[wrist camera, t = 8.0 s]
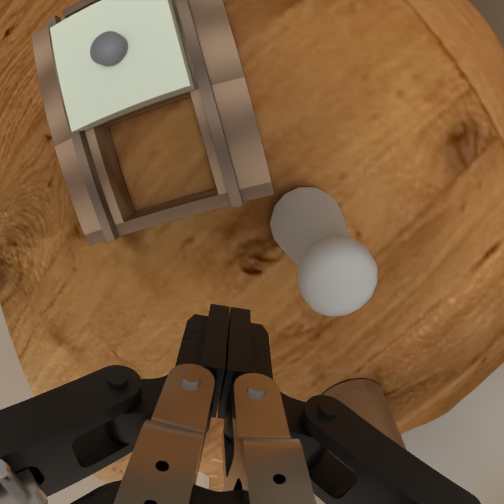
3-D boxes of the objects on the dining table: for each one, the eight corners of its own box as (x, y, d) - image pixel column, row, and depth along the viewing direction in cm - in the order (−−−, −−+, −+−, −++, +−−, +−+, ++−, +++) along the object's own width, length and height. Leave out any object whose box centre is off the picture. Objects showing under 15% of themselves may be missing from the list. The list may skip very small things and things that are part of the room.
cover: (196, 89, 20) (187, 83, 17) (87, 130, 21) (64, 133, 18) (169, -12, 17) (157, -30, 14) (65, 33, 18) (43, 25, 14)
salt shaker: (323, 251, 29) (370, 340, 17) (261, 239, 28) (273, 328, 16) (341, 189, 27) (411, 246, 15) (277, 174, 26) (305, 221, 14)
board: (271, 186, 26) (275, 197, 23) (102, 233, 28) (84, 250, 24) (212, -27, 19) (208, -48, 15) (48, 40, 20) (25, 34, 16)
